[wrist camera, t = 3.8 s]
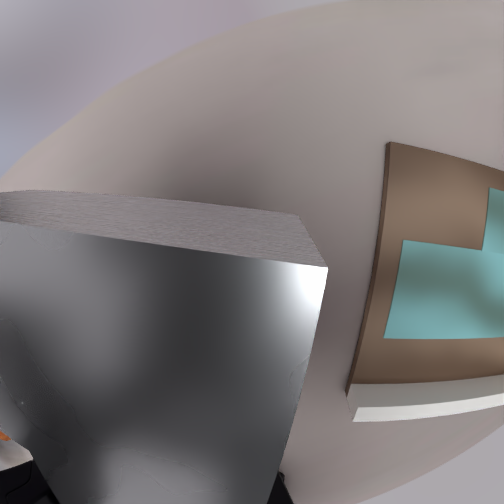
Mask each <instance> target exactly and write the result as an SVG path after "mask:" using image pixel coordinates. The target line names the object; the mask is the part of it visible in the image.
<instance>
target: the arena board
mask: <svg viewBox="0 0 504 504" xmlns="http://www.w3.org/2000/svg"><path fill="white" fill-rule="evenodd" d="M502 374H504V172H503V171H500V170H497V169H494V168H491V167H488V166H485V165H482V164H478V163H475V162H472V161H468V160H465V159H461V158H458V157H454V156H450V155H447V154H443V153H439V152H435V151H431V150H427V149H422V148H418V147H414V146H409V145H404V144H400V143H395V142H389V143H387V144H386V156H385V171H384V184H383V195H382V205H381V214H380V223H379V231H378V238H377V245H376V252H375V258H374V265H373V271H372V277H371V282H370V288H369V293H368V298H367V303H366V308H365V313H364V318H363V322H362V327H361V331H360V336H359V340H358V344H357V348H356V352H355V356H354V360H353V364H352V368H351V371H350V375H349V379H348V382H347V386H346V389H345V393H346V397H347V395H348V392H349V389H350V385H351V384H404V383H426V382H441V381H453V380H464V379H473V378H481V377H489V376H496V375H502Z"/></svg>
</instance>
